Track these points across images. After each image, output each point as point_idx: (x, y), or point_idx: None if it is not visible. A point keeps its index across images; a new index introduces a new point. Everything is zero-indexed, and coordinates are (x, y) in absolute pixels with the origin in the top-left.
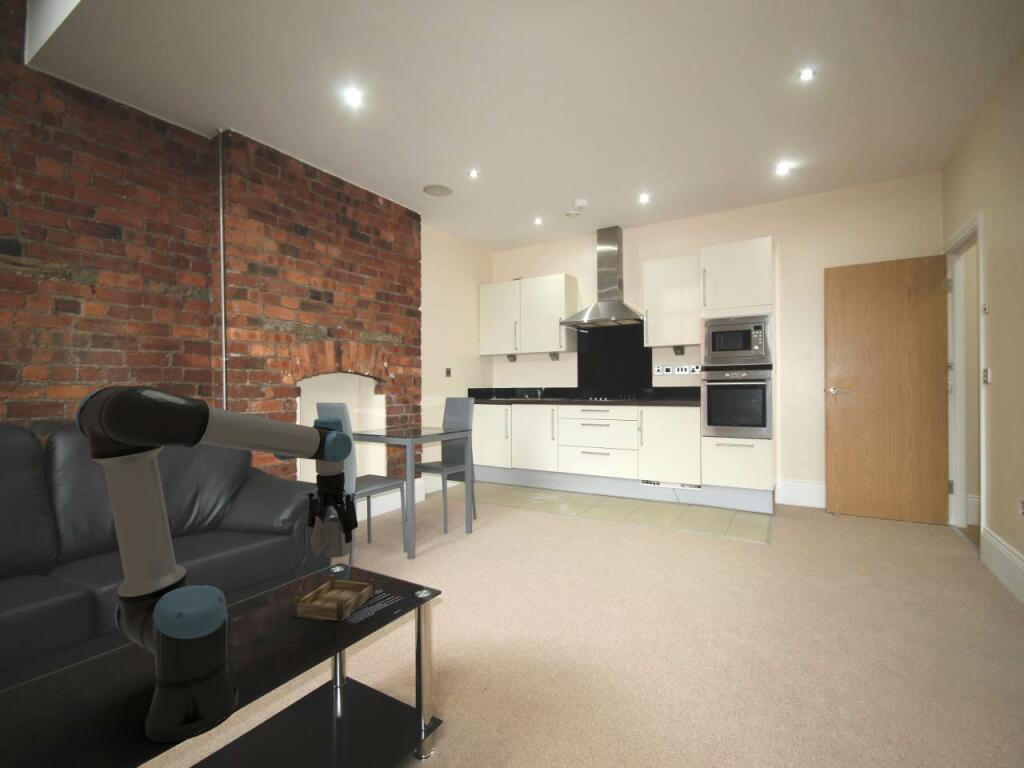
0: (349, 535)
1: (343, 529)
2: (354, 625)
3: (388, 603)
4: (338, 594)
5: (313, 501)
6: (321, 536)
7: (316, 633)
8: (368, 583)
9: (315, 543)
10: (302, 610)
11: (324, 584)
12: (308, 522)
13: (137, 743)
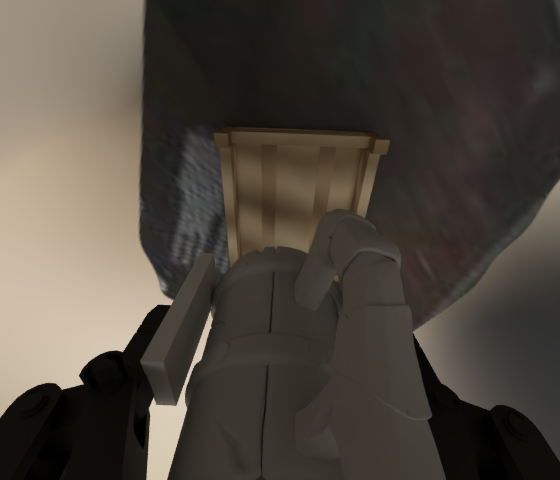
0: (129, 350)
1: (129, 390)
2: (181, 119)
3: (183, 234)
4: (310, 242)
5: None
6: None
7: (250, 48)
8: None
9: (341, 238)
10: (347, 133)
11: None
12: (552, 462)
13: None
